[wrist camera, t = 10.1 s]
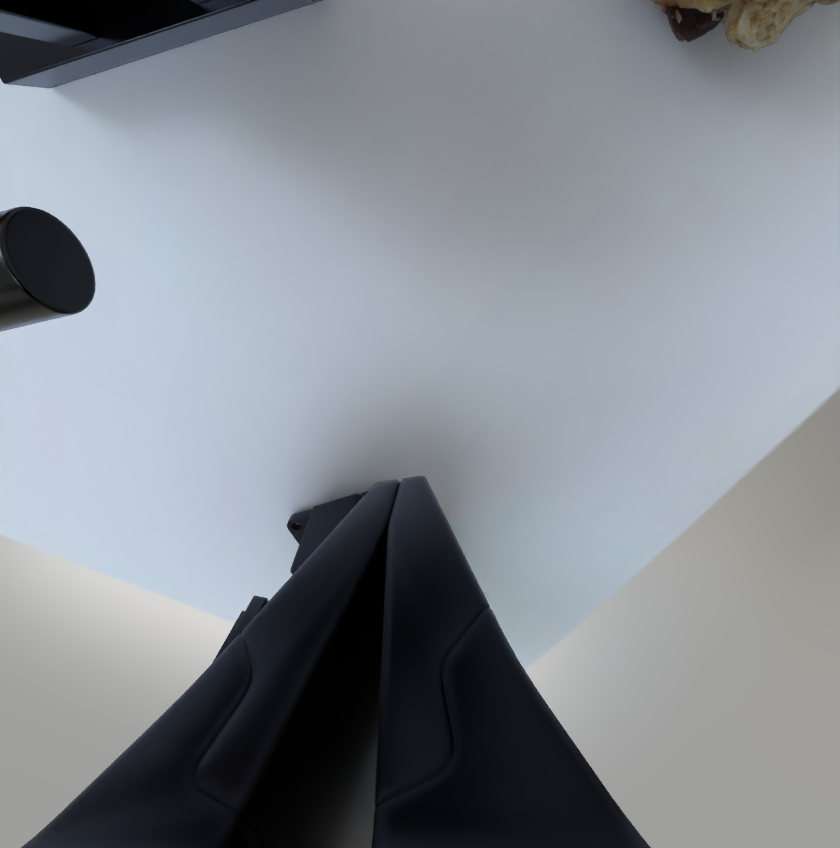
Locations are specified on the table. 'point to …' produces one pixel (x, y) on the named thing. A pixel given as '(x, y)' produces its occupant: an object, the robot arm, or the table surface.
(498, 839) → the robot arm
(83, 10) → the stand
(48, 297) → the brown black t-shaped piece
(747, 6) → the bread roll
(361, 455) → the table surface
